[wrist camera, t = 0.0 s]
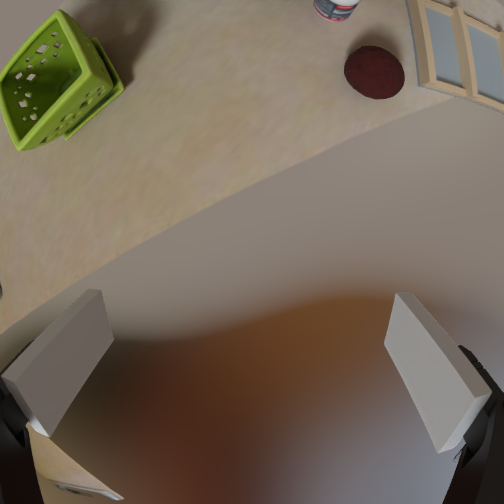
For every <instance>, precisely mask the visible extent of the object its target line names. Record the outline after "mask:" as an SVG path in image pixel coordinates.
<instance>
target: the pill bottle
mask: <svg viewBox="0 0 504 504" xmlns="http://www.w3.org/2000/svg"><path fill="white" fill-rule="evenodd" d="M359 2H360V0H315V1H314V9H315V11H316V12H317V14H318V15H319V16H321V17H322V18H324V19H325V20H328V21H331V22H341V21H344V20H346V19H347V18H348V17H349V16H350V14H351V13H352V11H353V10H354V9H355V7H356V6H357V4H358V3H359Z"/></svg>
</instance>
